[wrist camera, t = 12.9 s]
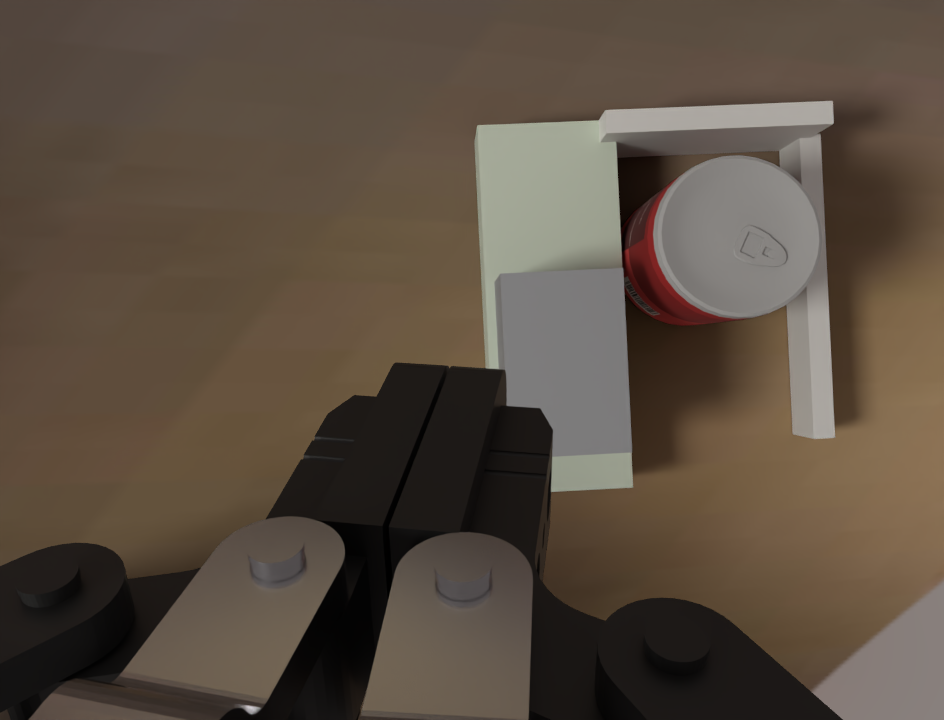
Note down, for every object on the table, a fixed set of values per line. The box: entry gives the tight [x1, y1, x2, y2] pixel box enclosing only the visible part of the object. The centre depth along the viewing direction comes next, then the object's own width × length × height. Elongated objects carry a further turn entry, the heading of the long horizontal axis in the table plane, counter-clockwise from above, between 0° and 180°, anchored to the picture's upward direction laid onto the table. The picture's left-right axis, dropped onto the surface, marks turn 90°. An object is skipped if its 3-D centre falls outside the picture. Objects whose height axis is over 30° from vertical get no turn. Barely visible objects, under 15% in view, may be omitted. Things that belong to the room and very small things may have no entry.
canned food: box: [621, 155, 822, 326], centre depth 47 cm, size 8×8×11 cm
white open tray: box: [475, 101, 835, 492], centre depth 48 cm, size 20×19×9 cm
